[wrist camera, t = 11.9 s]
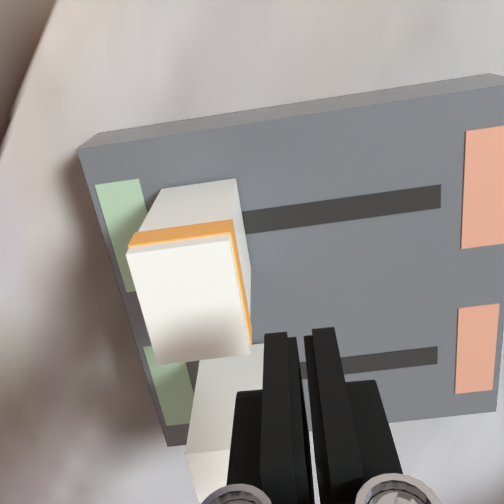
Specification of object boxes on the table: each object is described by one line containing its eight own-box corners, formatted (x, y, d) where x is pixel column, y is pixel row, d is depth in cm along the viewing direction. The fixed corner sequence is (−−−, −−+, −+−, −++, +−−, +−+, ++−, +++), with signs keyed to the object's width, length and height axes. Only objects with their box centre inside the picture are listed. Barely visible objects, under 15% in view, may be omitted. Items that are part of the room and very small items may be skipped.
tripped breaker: (237, 176, 19) (230, 238, 14) (252, 268, 21) (251, 355, 15) (159, 187, 19) (123, 253, 14) (181, 277, 21) (156, 366, 16)
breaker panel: (489, 73, 20) (652, 108, 12) (471, 372, 27) (567, 526, 19) (98, 132, 21) (1, 202, 13) (175, 405, 28) (143, 565, 20)
